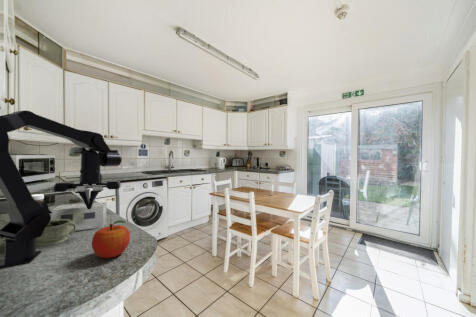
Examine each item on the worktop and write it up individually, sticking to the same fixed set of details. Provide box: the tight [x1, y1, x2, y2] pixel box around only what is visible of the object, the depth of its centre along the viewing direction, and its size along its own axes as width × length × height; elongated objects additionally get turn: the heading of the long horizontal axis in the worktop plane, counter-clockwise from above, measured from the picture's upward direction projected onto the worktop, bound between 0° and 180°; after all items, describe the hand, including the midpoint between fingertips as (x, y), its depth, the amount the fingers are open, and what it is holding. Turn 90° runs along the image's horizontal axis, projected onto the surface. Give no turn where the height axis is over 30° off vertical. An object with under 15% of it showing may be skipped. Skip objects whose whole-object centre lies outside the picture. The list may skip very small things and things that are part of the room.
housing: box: [51, 201, 107, 232], centre depth 78 cm, size 8×16×9 cm, turn 117°
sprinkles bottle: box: [31, 193, 45, 201], centre depth 77 cm, size 5×5×13 cm
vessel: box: [36, 219, 76, 247], centre depth 65 cm, size 12×9×6 cm
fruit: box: [91, 219, 131, 259], centre depth 56 cm, size 10×10×10 cm
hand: (89, 209), depth 69 cm, fingers closed
